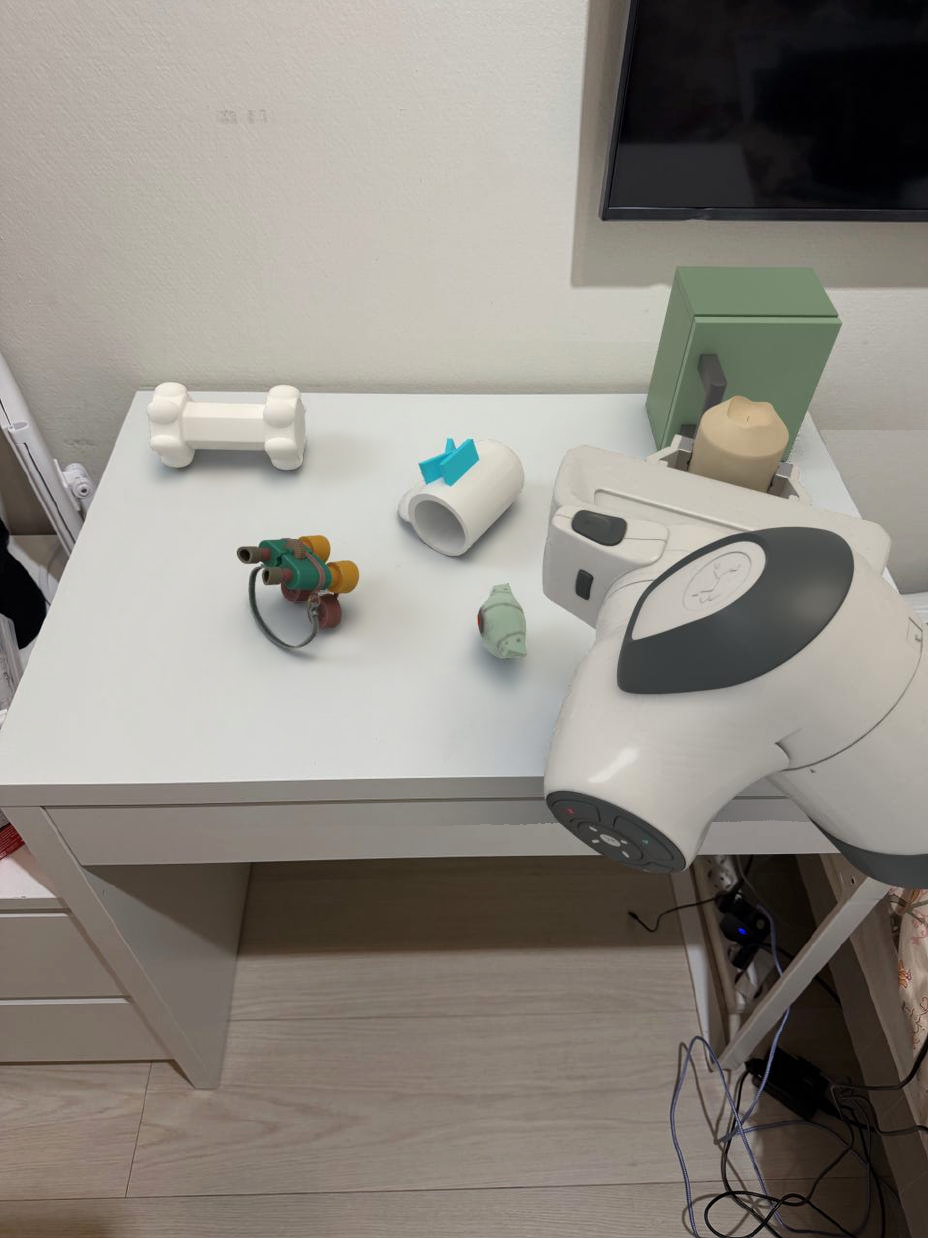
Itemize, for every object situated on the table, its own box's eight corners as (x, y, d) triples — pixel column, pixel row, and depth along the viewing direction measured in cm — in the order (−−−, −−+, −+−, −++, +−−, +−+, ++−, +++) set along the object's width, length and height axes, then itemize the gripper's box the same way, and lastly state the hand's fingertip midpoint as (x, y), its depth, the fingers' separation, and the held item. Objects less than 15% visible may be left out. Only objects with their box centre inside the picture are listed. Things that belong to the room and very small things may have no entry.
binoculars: (335, 661, 77) (376, 570, 73) (254, 674, 70) (295, 573, 66) (276, 602, 81) (312, 513, 77) (194, 609, 74) (229, 511, 70)
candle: (657, 512, 61) (688, 395, 53) (719, 491, 63) (759, 375, 55) (701, 562, 58) (742, 446, 50) (766, 539, 59) (815, 423, 52)
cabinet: (783, 454, 94) (839, 314, 81) (658, 454, 93) (694, 313, 80) (763, 405, 100) (812, 266, 86) (645, 404, 99) (676, 265, 86)
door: (800, 493, 90) (860, 355, 77) (669, 493, 89) (708, 354, 76) (784, 454, 94) (839, 317, 81) (659, 454, 93) (694, 316, 80)
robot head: (530, 686, 73) (537, 638, 68) (483, 692, 73) (487, 644, 67) (512, 616, 78) (517, 566, 73) (468, 620, 78) (471, 570, 72)
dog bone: (158, 482, 89) (136, 418, 82) (176, 430, 94) (157, 367, 88) (301, 485, 89) (290, 422, 83) (311, 433, 94) (302, 370, 88)
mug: (519, 410, 81) (447, 477, 75) (544, 490, 87) (478, 560, 80) (429, 410, 89) (357, 471, 82) (456, 484, 94) (390, 547, 87)
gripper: (900, 622, 43) (916, 461, 52) (525, 512, 48) (595, 381, 56) (854, 692, 48) (876, 535, 57) (518, 586, 53) (583, 455, 61)
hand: (733, 457), depth 56 cm, fingers closed on candle, 5 cm apart
